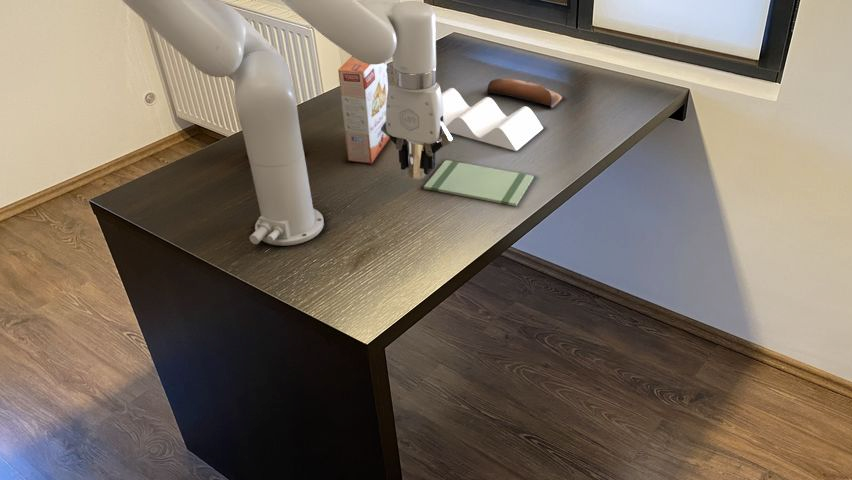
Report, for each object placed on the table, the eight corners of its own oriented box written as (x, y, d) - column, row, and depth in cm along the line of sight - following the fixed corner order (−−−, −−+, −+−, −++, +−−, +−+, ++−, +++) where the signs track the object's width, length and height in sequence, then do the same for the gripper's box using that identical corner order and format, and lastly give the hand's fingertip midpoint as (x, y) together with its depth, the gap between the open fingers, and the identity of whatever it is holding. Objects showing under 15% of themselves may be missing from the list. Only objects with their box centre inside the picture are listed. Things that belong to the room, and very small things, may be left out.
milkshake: (422, 185, 140) (424, 137, 134) (399, 175, 142) (400, 128, 136) (436, 176, 144) (438, 129, 138) (413, 166, 146) (415, 119, 139)
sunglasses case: (564, 95, 190) (560, 78, 184) (553, 117, 188) (549, 101, 182) (501, 81, 197) (495, 65, 191) (490, 103, 195) (484, 86, 189)
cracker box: (373, 165, 161) (364, 71, 149) (347, 162, 162) (335, 69, 149) (393, 136, 172) (386, 47, 159) (368, 133, 173) (359, 44, 160)
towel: (516, 206, 149) (516, 203, 148) (423, 188, 154) (423, 186, 153) (533, 177, 158) (533, 175, 157) (445, 162, 163) (445, 159, 162)
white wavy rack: (516, 151, 167) (516, 130, 164) (389, 115, 181) (388, 95, 178) (543, 128, 176) (544, 108, 173) (420, 96, 190) (419, 77, 187)
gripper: (361, 76, 130) (368, 169, 141) (451, 92, 126) (451, 186, 137) (381, 61, 136) (386, 152, 147) (467, 76, 132) (465, 168, 143)
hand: (417, 168), depth 142 cm, fingers closed on milkshake, 4 cm apart
